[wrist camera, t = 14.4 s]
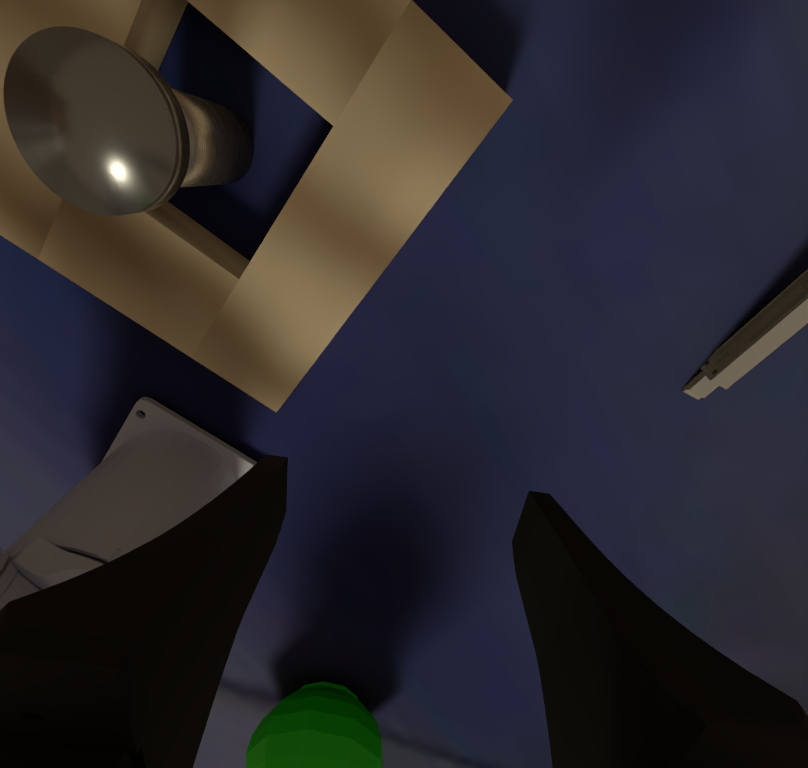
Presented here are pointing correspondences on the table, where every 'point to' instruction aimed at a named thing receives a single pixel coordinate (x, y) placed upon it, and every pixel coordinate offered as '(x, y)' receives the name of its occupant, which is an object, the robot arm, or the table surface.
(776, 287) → the table surface
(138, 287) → the square wooden frame
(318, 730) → the plastic bottle
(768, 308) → the caliper
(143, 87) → the steel pin
